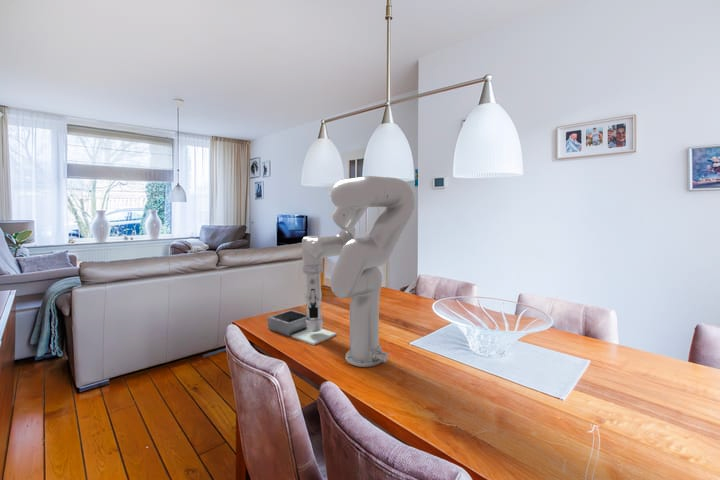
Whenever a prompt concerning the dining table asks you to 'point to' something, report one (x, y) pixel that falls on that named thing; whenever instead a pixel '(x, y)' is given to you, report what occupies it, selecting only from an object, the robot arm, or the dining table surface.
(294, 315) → the steel collar
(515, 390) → the dining table surface
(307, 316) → the plastic bottle
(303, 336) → the mat
